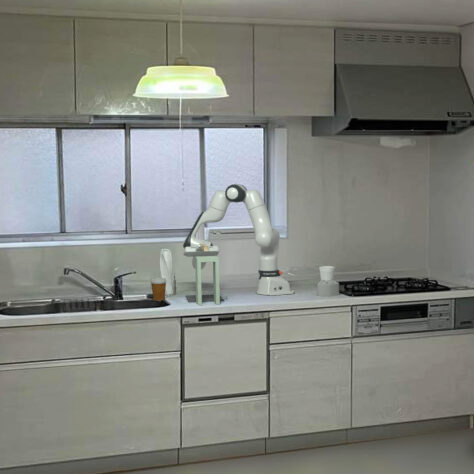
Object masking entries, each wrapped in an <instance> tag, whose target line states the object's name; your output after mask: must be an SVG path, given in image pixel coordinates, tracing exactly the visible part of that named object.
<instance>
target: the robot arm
mask: <svg viewBox="0 0 474 474" xmlns="http://www.w3.org/2000/svg"><path fill="white" fill-rule="evenodd" d="M230 203H237V204H238V203H243V204H244V205H245V207H246V210H247V213H248V215H249V218H250V220H251V223H252V227H253V232H254V237H255V243H256V245H257V246H259V247H260V251H259V255H258V273H257V279H258V285H257V291H256V294H257V295H263V296H265V295H266V296H280V295H294V294H295V291H294V290H293V289H291V284H290V282H289V281H288V280H287V279H285V278H284V277H282V274H283V271H282V270H280V269H278V253H279V247H280V246H279V245H280V238H281V236H280V232H279V231H278V230H277V229H276V228H273V227H272V224H271V219H270V214H269V211H268V209H267V207H266V203H265V202H264V199H263V197H262V195H261V193H260V192H259V191H258V190H257V189H249V190H248V189H247V187H246V186H244V185H243V184H239V183H237V184H236V183H235V184H230V185H228V186H227V187H226V188H225V190H221V189H220V190H216V191H215V192H214V194H213V196H212V198H211V199H210V202H209V204H208V207H207V209H206V210H205V211H202V212H201V213H199V215H198V217H197V219H196V220H195V222H194V224H193V226H192V228H191V229H190V230H189V233H188V235H187V236H186V237H185V239H184V241H183V244H182V246H183V248H184V252H183V256H185V257H186V258H188V257H189V258H190V257H191V259H192V260H191V265H192V268H193V269H195V270H196V267H195V257H199V256H217V257H218V255H219V253H220V246H218V245H213V243H212V242H210V241H208V240H206V239H203V238H200V237H197V236H196V235H197V233H198V232H199V230H200V228H201V227H202V225H203V224H208V223H213V224H214V223H219V222H221V221H222V220H224V218H225V216H226V214H227V210H228V207H229V205H230ZM201 244H205V245H207V246H208V251H203V250H202V249H201ZM206 265H207V262H201V271H202V270H203V269H204V268H205V267H206Z"/></svg>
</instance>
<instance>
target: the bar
mask: <svg viewBox="0 0 474 474" xmlns="http://www.w3.org/2000/svg"><path fill="white" fill-rule="evenodd" d="M201 249H202V250H203V251H208V246H207V245H205V244H201Z"/></svg>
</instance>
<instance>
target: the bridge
mask: <svg viewBox="0 0 474 474" xmlns="http://www.w3.org/2000/svg"><path fill="white" fill-rule="evenodd" d="M201 262H206V263H211V262H212V263H213V264H212V271H213V272H212V274H213V275H212V276H213V277H212V278H213V280H212V281H213V294H214V301H213V303H214V304H215V305H216V306H217V305H218V306H219V305H220V304H221V301H220V296H221V294H220V292H221V291H220V258H219V257H218V255H217V256H199V257H195V267H196V269H195V295H196V302H195V303H196V304H198V305H197V306H200V305H201V306H202V304H203V302H202V295H203V294H202V293H203V292H202V270H201Z"/></svg>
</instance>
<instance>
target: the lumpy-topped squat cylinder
mask: <svg viewBox="0 0 474 474" xmlns="http://www.w3.org/2000/svg"><path fill="white" fill-rule="evenodd" d="M339 295H340V283H339V282H337V281H336V280H334V279H333V280H328V281H326V280H322V281H321V280H320V281H318V283H316V296H317V297H337V296H339Z"/></svg>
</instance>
